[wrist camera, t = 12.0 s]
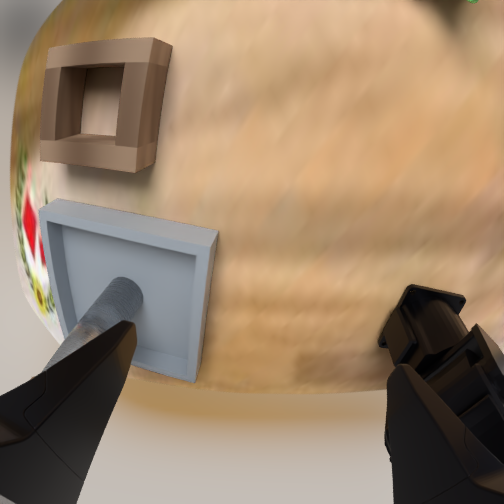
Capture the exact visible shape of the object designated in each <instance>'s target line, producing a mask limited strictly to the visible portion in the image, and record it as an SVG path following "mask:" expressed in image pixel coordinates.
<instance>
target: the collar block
mask: <svg viewBox="0 0 504 504" xmlns="http://www.w3.org/2000/svg"><path fill="white" fill-rule="evenodd" d="M171 50H172V45H170V44H167V43H165V42H163V41H161V40H158V39H156V38H126V39H112V40H101V41H92V42H84V43H76V44H70V45H64V46H58V47H53V48H49V52H48V57H47V64H46V71H45V78H44V87H43V97H42V109H41V128H40V161H44V162H54V163H63V164H72V165H81V166H89V167H97V168H104V169H111V170H119V171H126V172H132V173H136V172H138V171H140V170H142V169H144V168H145V167H147V166H149V165H151V164H153V163H155V159H156V149H157V140H158V131H159V123H160V116H161V109H162V102H163V95H164V89H165V83H166V77H167V71H168V66H169V60H170V55H171ZM120 66H125V67H124V73H123V80H122V86H121V94H120V102H119V110H118V119H117V130H116V136H106V135H92V134H80V128H81V114H82V103H83V94H84V86H85V78H86V71H87V68H95V67H120Z"/></svg>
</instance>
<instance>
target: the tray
mask: <svg viewBox="0 0 504 504" xmlns="http://www.w3.org/2000/svg"><path fill="white" fill-rule="evenodd" d="M39 218H40V227H41V235H42V242H43V248H44V254H45V260H46V266H47V271H48V276H49V281H50V285H51V290H52V294H53V298H54V303H55V307H56V310H57V314H58V318H59V322H60V325H61V329H62V332H63V335H64V339H66V338H67V336H68V335H69V334H70V332H71V331H72V330H73V328H74V327H75V326H76V324H77V323H78V322H79V321H80V319H81V318H82V317H83V316H84V314H85V313H86V312H87V310H88V309H89V308H90V307H91V305H92V304H93V303H94V302H95V300H96V299H97V298H98V297H99V296H100V294H101V293H102V292H103V291H104V290H105V288H106V287H107V286H108V285H109V284H110V282H111V281H112V280H113V279H114V278H116V277H126V278H129V279H131V280H132V281H134V282H135V283H136V284H137V285H138V286H139V287H140V289H141V291H142V293H143V303H142V305H141V306H140V308H139V309H138V311H137V313H136V314H135V316H134V317H133V319H132V321H131V322H134V323H135V325H136V333H137V346H136V349H135V352H134V355H133V358H132V362H131V365H134V366H137V367H140V368H143V369H146V370H149V371H153V372H156V373H159V374H163V375H166V376H170V377H174V378H177V379H181V380H185V381H189V382H193V383H195V382H196V378H197V375H198V372H199V368H200V365H201V359H202V350H203V342H204V333H205V325H206V317H207V309H208V302H209V294H210V287H211V279H212V272H213V265H214V258H215V251H216V245H217V238H218V231H217V230H213V229H208V228H203V227H198V226H193V225H189V224H184V223H179V222H174V221H169V220H164V219H159V218H154V217H149V216H144V215H139V214H134V213H129V212H124V211H119V210H114V209H109V208H104V207H99V206H94V205H89V204H84V203H78V202H73V201H68V200H63V199H58V198H57V199H55V200H54V201H52V202H50V203H48V204H47V205H45V206H43V207H42V208H40V209H39Z"/></svg>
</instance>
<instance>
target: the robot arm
mask: <svg viewBox="0 0 504 504" xmlns="http://www.w3.org/2000/svg"><path fill="white" fill-rule="evenodd" d="M412 290H414V291H413V292H411V291H412ZM465 303H466V299H465V297H464V296H463V295H460V294H455V293H451V292H446V291H442V290H437V289H433V288H428V287H424V286H419V285H414V284H411V285H409V286H408V287H407V288H406V290H405V292H404V294H403V296H402V298H401V300H400V302H399V304H398V306H397V307H396V308H395V310H394V311H393V313H392V315H391V317H390V319H389V321H388V322H387V324H386V326H385V328H384V330H383V333H382V335H381V336H380V338H379V340H378V344H379V347H381V348H388V349H389V351H390V354H391V358H392V361H393V364H394V366H395V367H396V368H395V369H394V370H393V372H392V373H391V375H390V376H389V378H388V380H387V412H386V424H385V446H386V448H387V451H388V453H389V455H390V462H391V463H392V474H393V475H392V476H393V497H394V504H504V354H503V353H502V351H501V350H500V348H499V347H498V345H497V344H496V343H495V342H494V341H493V340H492V339H491V338H490V337H489V336H488V334H487V333H486V332H485V331H484V330H483V329H482V328H481V327H480V326H479V325H478V324H477V323H476V324H475V325H474V326H473V327H472V328H471V329H472V330H471V331H470V332H469V331H468V330H467V328H466V326H465V325H464V323H463V321H462V320H461V318H460V316H459V313H460V311H461V310H462V308H463V306H464V304H465ZM383 342H384V343H383ZM136 346H137V333H136V325H135V323H134V322H131V321H127V320H122V321H120V322H118V323H117V324H115V325H114V326H112V327H111V328H109V329H108V330H106V331H105V332H103V333H101V334H100V335H98V336H97V337H95V338H94V339H92V340H91V341H89V342H88V343H86V344H84V345H83V346H81V347H80V348H78V349H77V350H75V351H74V352H72V353H71V354H69V355H68V356H66V357H64V358H63V359H61V360H60V361H58V362H57V363H55V364H54V365H52V366H51V367H49V368H48V369H47V370H46V371H43V372H42V373H40V374H38V375H37V376H35V377H34V378H32V379H31V380H29V381H27V382H26V383H24V384H22V385H20V386H18V387H17V388H15V389H13V390H11V391H9V392H7V393H5V394H3V395H1V396H0V504H76V503H77V500H78V498H79V495H80V492H81V489H82V486H83V484H84V481H85V478H86V475H87V473H88V470H89V468H90V465H91V462H92V460H93V457H94V455H95V452H96V450H97V447H98V445H99V442H100V440H101V437H102V435H103V433H104V430H105V428H106V425H107V423H108V420H109V418H110V416H111V413H112V411H113V409H114V407H115V404H116V402H117V399H118V397H119V395H120V393H121V391H122V388H123V386H124V383H125V381H126V378H127V374H128V371H129V368H130V365H131V362H132V358H133V355H134V352H135V349H136Z"/></svg>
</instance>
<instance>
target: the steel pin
mask: <svg viewBox="0 0 504 504" xmlns="http://www.w3.org/2000/svg"><path fill="white" fill-rule="evenodd" d="M142 303H143V293H142V291H141V289H140V287H139V286H138V285H137V284H136V283H135V282H134V281H132V280H131V279H129V278H126V277H116V278H114V279H113V280H112V281H111V282H110V284H109V285H108V286H107V287H106V288H105V290H104V291H103V292H102V293H101V294H100V296H99V297H98V298H97V299H96V300H95V302H94V303H93V304H92V305H91V307H90V308H89V309H88V310H87V312H86V313H85V314H84V316H83V317H82V318H81V319H80V321H79V322H78V323H77V324H76V326H75V327H74V328H73V330H72V331H71V332H70V334H69V335H68V336H67V338H66V339H65V340H64V342H63V343H62V344H61V346H60V347H59V348H58V350H57V351H56V353H55V354H54V355H53V357H52V358H51V359H50V361H49V362H48V364H47V365H46V367H45V368H44V370H43V371H46V370H47V369H48V368H49V367H51V366H52V365H54V364H55V363H57V362H58V361H60V360H61V359H63V358H64V357H66V356H68V355H69V354H71V353H72V352H74V351H75V350H77V349H78V348H80V347H81V346H83V345H84V344H86V343H88V342H89V341H91V340H92V339H94V338H95V337H97V336H98V335H100V334H101V333H103V332H105V331H106V330H108V329H109V328H111V327H112V326H114V325H115V324H117V323H118V322H120V321H122V320H127V321H132V319H133V317H134V316H135V314H136V313H137V311H138V309H139V308H140V306H141V305H142ZM43 371H42V372H43ZM42 372H41V373H42ZM32 378H34V377H32ZM32 378H31V379H32ZM31 379H30V380H31Z"/></svg>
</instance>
